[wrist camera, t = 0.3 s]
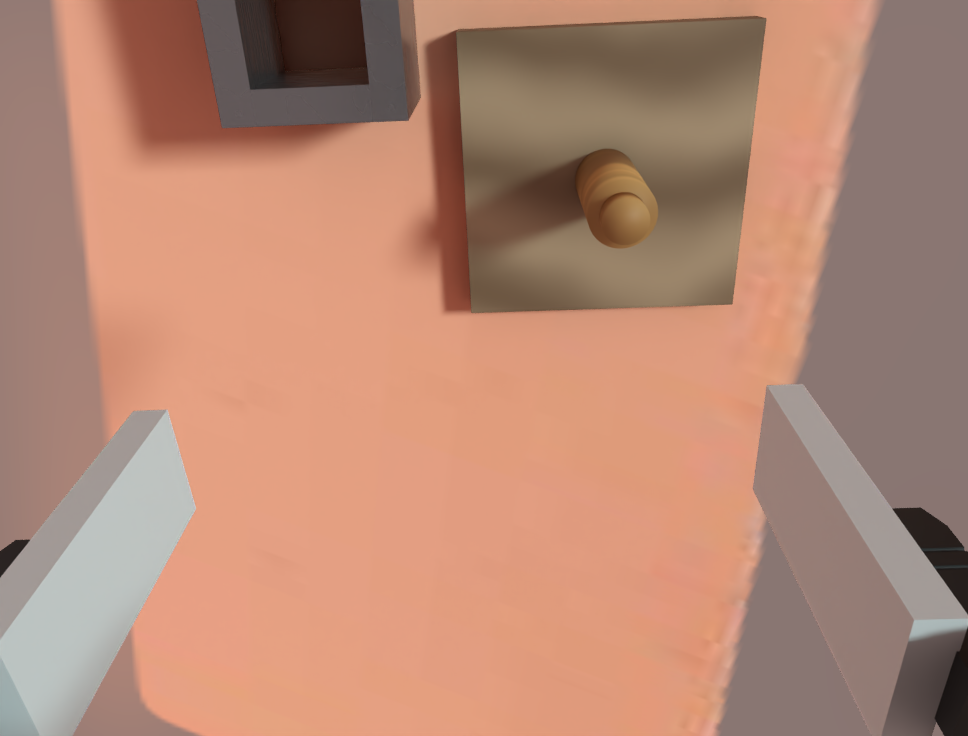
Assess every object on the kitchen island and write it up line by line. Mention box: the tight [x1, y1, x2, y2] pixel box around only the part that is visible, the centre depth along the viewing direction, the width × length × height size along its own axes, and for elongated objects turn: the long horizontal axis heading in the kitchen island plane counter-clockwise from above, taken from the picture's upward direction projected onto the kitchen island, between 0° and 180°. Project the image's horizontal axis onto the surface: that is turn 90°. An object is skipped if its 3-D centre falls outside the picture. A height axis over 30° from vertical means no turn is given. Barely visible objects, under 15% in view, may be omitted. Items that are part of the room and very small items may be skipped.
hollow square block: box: [197, 0, 421, 128], centre depth 34 cm, size 8×8×6 cm
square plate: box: [456, 16, 766, 313], centre depth 36 cm, size 14×14×8 cm
